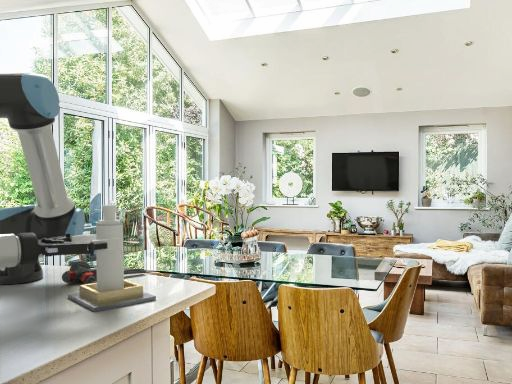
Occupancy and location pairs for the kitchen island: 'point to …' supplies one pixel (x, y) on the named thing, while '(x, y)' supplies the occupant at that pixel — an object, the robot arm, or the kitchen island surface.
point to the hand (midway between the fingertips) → (107, 241)
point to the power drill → (88, 273)
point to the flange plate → (110, 296)
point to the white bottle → (110, 252)
